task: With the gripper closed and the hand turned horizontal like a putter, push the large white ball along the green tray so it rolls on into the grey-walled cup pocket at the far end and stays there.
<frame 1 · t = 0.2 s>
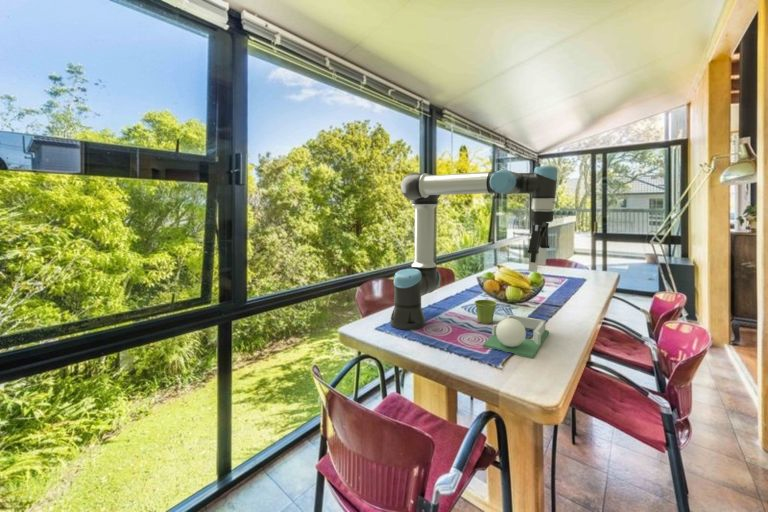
hand: (537, 267, 127), 27 cm above the table, tool pointing down, fingers open, 13 cm apart
ball: (510, 332, 121), point 6 cm above the table, touching green tray
plant pot: (485, 322, 150), on the table
green tray: (513, 343, 126), on the table
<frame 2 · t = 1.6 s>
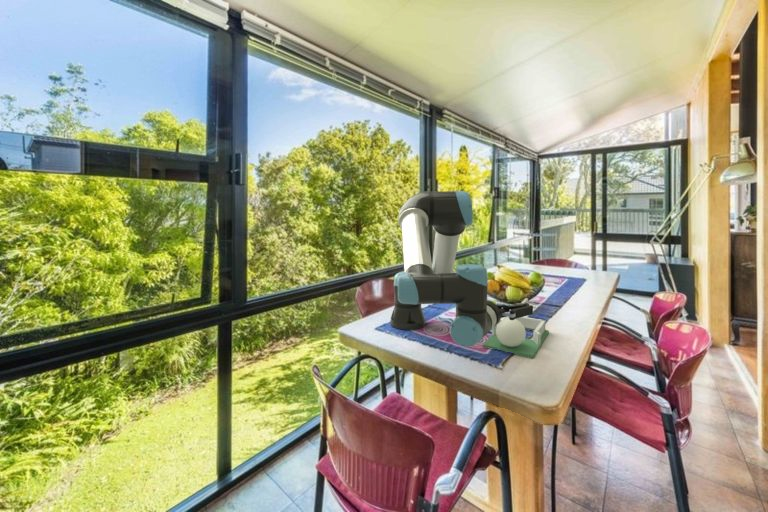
hand: (504, 299, 111), 20 cm above the table, tool horizontal, fingers open, 13 cm apart
nothing on the table moved.
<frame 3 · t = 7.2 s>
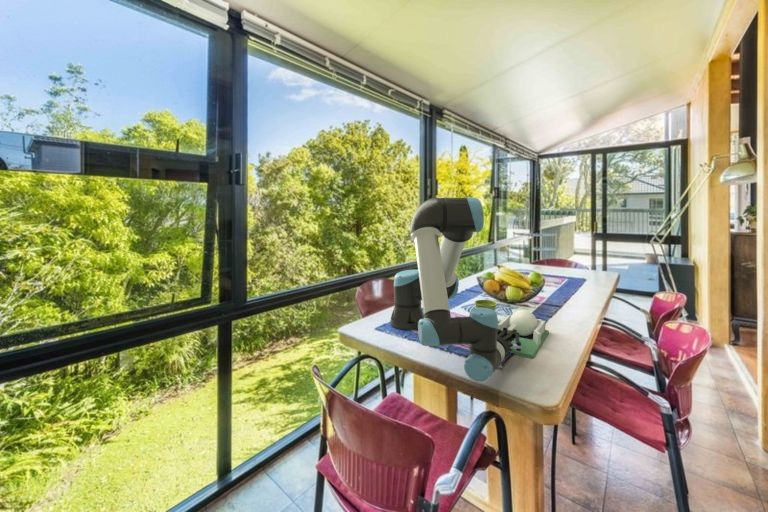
hand: (514, 328, 125), 6 cm above the table, tool horizontal, fingers closed
ball: (523, 322, 133), point 5 cm above the table, tilted 179°
everything else where it was.
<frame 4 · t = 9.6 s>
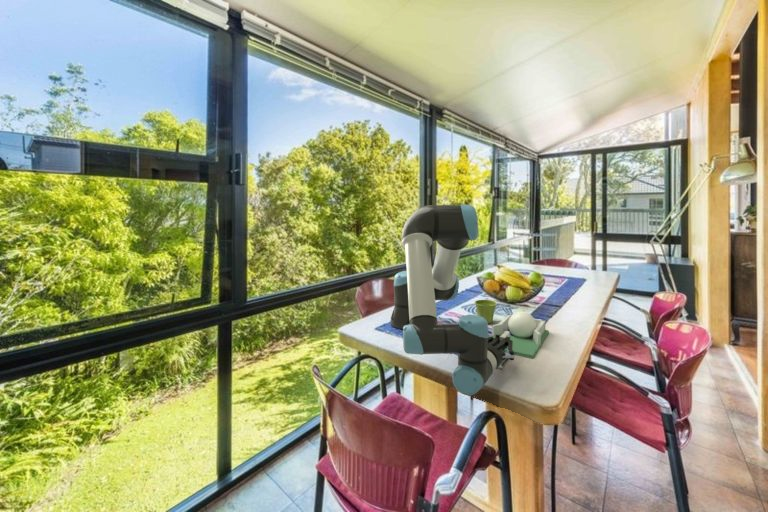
hand: (507, 334, 118), 6 cm above the table, tool horizontal, fingers closed
ball: (521, 324, 131), point 5 cm above the table, tilted 152°
everything else where it was.
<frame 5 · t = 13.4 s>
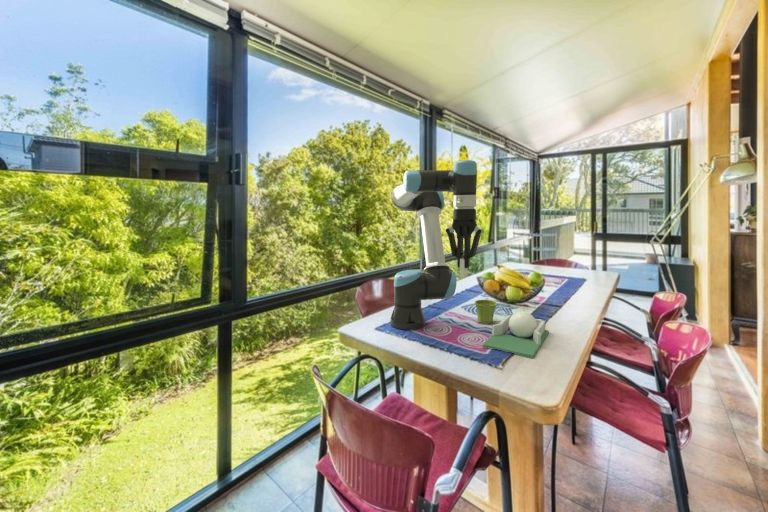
hand: (463, 276, 118), 26 cm above the table, tool pointing down, fingers closed
at the end: ball 2.7 cm from the target spot on the green tray, point 5.0 cm above the green tray's base; ball moved 13.5 cm from its start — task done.
